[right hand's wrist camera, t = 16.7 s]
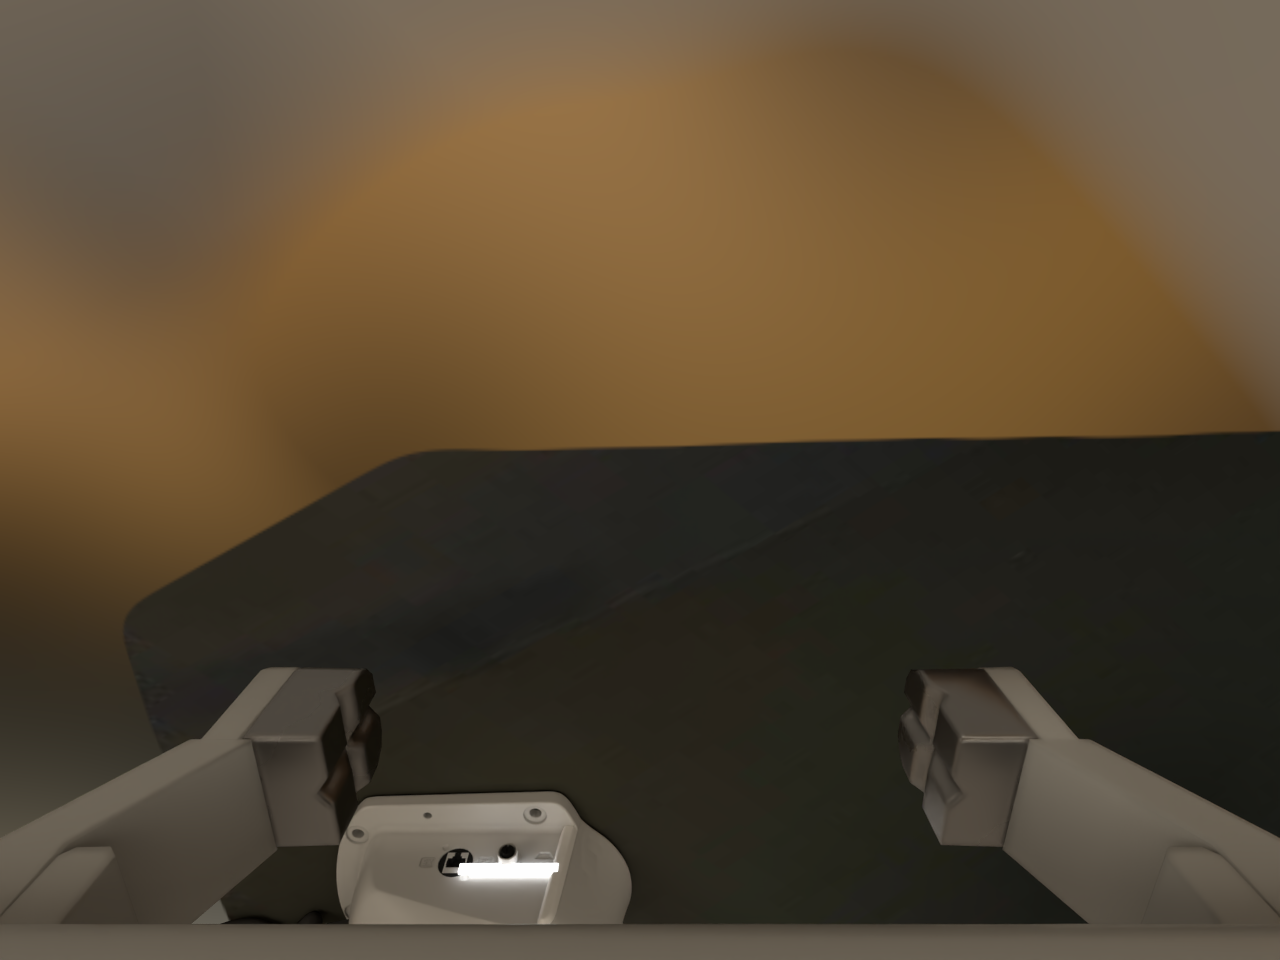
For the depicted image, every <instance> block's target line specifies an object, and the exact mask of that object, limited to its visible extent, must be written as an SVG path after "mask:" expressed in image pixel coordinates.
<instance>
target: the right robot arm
mask: <svg viewBox="0 0 1280 960" xmlns="http://www.w3.org/2000/svg"><path fill="white" fill-rule="evenodd" d="M375 693H376V691H375V686H374V681H373V676H372V673H371V672H369V671H368V670H367V669H354V668H308V667H303V668H298V667H269V668H267V669H264V670H261V671H260V672H259V673H258V674H257V675H256V677H255V678H254V679H253V680H252V681H251V682H250V683H249V685H248V686H247V687H246V688H245V689H244V690H243V692H242V693H241V694H240V695H239V696H238V697H237V699H236V700H235V701H234V702H233V703H232V704H231V705H230V707H229V708H228V709H227V710H226V711H225V712H224V714H223V715H222V716H221V717H220V718H219V719H218V720H217V722H216V723H215V724H214V725H213V726H212V727H211V729H210V730H209V731H208V732H207V733H206V734H205V736H204V737H203V738H202V739H190V740H188V741H186V742H184V743H182V744H180V745H178V746H177V747H175V748H173V749H171V750H169V751H167V752H165V753H163V754H161V755H159V756H157V757H155V758H153V759H151V760H150V761H148V762H146V763H144V764H142V765H140V766H138V767H136V768H134V769H132V770H130V771H128V772H126V773H124V774H123V775H121V776H119V777H117V778H115V779H113V780H111V781H109V782H107V783H105V784H103V785H101V786H99V787H97V788H96V789H94V790H92V791H90V792H88V793H86V794H84V795H82V796H80V797H78V798H76V799H74V800H72V801H70V802H69V803H67V804H65V805H63V806H61V807H59V808H57V809H55V810H53V811H51V812H49V813H47V814H45V815H43V816H42V817H40V818H38V819H36V820H34V821H32V822H30V823H28V824H26V825H24V826H22V827H20V828H18V829H16V830H14V831H13V832H11V833H9V834H7V835H5V836H3V837H1V838H0V960H1280V838H1279V837H1277V836H1275V835H1273V834H1271V833H1269V832H1267V831H1265V830H1263V829H1261V828H1259V827H1257V826H1255V825H1254V824H1252V823H1250V822H1248V821H1246V820H1244V819H1242V818H1240V817H1238V816H1236V815H1234V814H1232V813H1230V812H1228V811H1227V810H1225V809H1223V808H1221V807H1219V806H1217V805H1215V804H1213V803H1211V802H1209V801H1207V800H1205V799H1203V798H1202V797H1200V796H1198V795H1196V794H1194V793H1192V792H1190V791H1188V790H1186V789H1184V788H1182V787H1180V786H1178V785H1177V784H1175V783H1173V782H1171V781H1169V780H1167V779H1165V778H1163V777H1161V776H1159V775H1157V774H1155V773H1153V772H1152V771H1150V770H1148V769H1146V768H1144V767H1142V766H1140V765H1138V764H1136V763H1134V762H1132V761H1130V760H1128V759H1126V758H1125V757H1123V756H1121V755H1119V754H1117V753H1115V752H1113V751H1111V750H1109V749H1107V748H1105V747H1103V746H1101V745H1100V744H1098V743H1096V742H1094V741H1092V740H1090V739H1078V738H1077V737H1076V736H1075V734H1074V733H1073V732H1072V731H1071V730H1070V729H1069V727H1068V726H1067V725H1066V724H1065V723H1064V722H1063V721H1062V719H1061V718H1060V717H1059V716H1058V715H1057V714H1056V712H1055V711H1054V710H1053V709H1052V708H1051V707H1050V706H1049V704H1048V703H1047V702H1046V701H1045V700H1044V699H1043V697H1042V696H1041V695H1040V694H1039V693H1038V692H1037V690H1036V689H1035V688H1034V687H1033V686H1032V685H1031V684H1030V682H1029V681H1028V680H1027V679H1026V678H1025V677H1024V675H1023V674H1022V673H1021V672H1020V671H1019V670H1017V669H1015V668H1013V667H990V668H977V669H915V670H910V672H909V674H908V676H907V679H906V684H905V690H904V693H905V695H906V697H907V699H908V700H909V702H910V704H911V707H910V708H909V709H908V710H907V711H906V712H905V713H904V714H903V715H902V716H901V717H900V723H899V731H898V742H899V752H900V757H901V761H902V764H903V768H904V770H905V772H906V775H907V777H908V779H909V781H910V783H912V784H913V785H915V786H916V787H917V788H919V789H920V790H921V791H923V792H924V797H923V803H922V808H923V810H924V812H925V814H926V816H927V818H928V820H929V822H930V824H931V826H932V828H933V830H934V832H935V834H936V836H937V838H938V840H939V842H940V844H941V845H963V846H998V847H1003V850H1004V851H1005V852H1006V853H1007V854H1008V855H1010V856H1011V857H1012V858H1013V859H1014V860H1015V861H1017V862H1018V863H1019V864H1020V865H1021V866H1022V867H1024V868H1025V869H1026V870H1027V871H1028V872H1029V873H1031V874H1032V875H1033V876H1034V877H1035V878H1036V879H1038V880H1039V881H1040V882H1041V883H1042V884H1043V885H1045V886H1046V887H1047V888H1048V889H1049V890H1050V891H1051V892H1053V893H1054V894H1055V895H1056V896H1057V897H1058V898H1060V899H1061V900H1062V901H1063V902H1064V903H1065V904H1067V905H1068V906H1069V907H1070V908H1071V909H1072V910H1074V911H1075V912H1076V913H1077V914H1078V915H1079V916H1081V917H1082V918H1083V919H1084V920H1085V921H1086V922H1088V923H1089V924H622V923H623V919H624V916H625V913H626V910H627V908H628V905H629V902H630V898H631V893H632V882H631V876H630V872H629V869H628V866H627V864H626V862H625V860H624V858H623V857H622V855H621V854H620V852H619V851H618V850H617V849H616V848H615V846H614V845H613V844H612V843H611V842H610V841H608V840H607V839H606V838H605V837H604V836H602V835H601V834H600V833H598V832H597V831H595V830H594V829H592V828H591V827H589V826H588V825H587V824H586V823H585V822H584V821H582V820H581V818H580V816H579V815H578V813H577V811H576V810H575V808H574V807H573V805H572V804H571V802H570V801H569V800H568V799H567V798H566V797H565V796H564V795H562V794H560V793H558V792H553V791H543V792H508V793H473V794H439V795H404V796H376V797H369V798H366V799H365V800H363V801H362V802H361V803H360V804H359V805H358V803H357V797H356V792H357V791H359V790H360V789H361V788H363V787H364V786H365V785H367V784H368V783H370V781H371V779H372V777H373V774H374V772H375V770H376V768H377V765H378V760H379V756H380V751H381V745H382V729H381V722H380V717H379V716H378V715H377V714H376V713H375V712H374V711H373V710H372V709H371V708H370V707H369V704H370V702H371V700H372V699H373V697H374V695H375ZM535 809H539V810H535ZM339 844H340V845H339ZM316 845H339V850H338V856H337V870H336V878H337V890H338V896H339V901H340V904H341V908H342V910H343V913H344V915H345V917H346V920H341V921H336V922H331V923H328V924H322V917H321V915H320V913H317V912H315V911H314V912H311V913H308V914H307V915H305V916H304V917H303V918H302V919H301V920H300V921H299V922H298V923H297V924H273V923H271V922H268V921H266V920H262V919H258V918H242V919H236V920H232V921H228V922H225V923H222V924H191V923H193V922H194V921H195V920H196V919H197V918H198V917H200V916H201V915H202V914H203V913H204V912H205V911H206V910H208V909H209V908H210V907H211V906H212V905H213V904H215V903H216V902H217V901H218V900H219V899H221V898H222V897H223V896H224V895H225V894H226V893H228V892H229V891H230V890H231V889H232V888H233V887H235V886H236V885H237V884H238V883H239V882H240V881H242V880H243V879H244V878H245V877H246V876H247V875H249V874H250V873H251V872H252V871H253V870H254V869H256V868H257V867H258V866H259V865H260V864H261V863H263V862H264V861H265V860H266V859H267V858H268V857H270V856H271V855H272V854H273V853H274V852H275V851H277V847H282V846H316Z"/></svg>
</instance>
